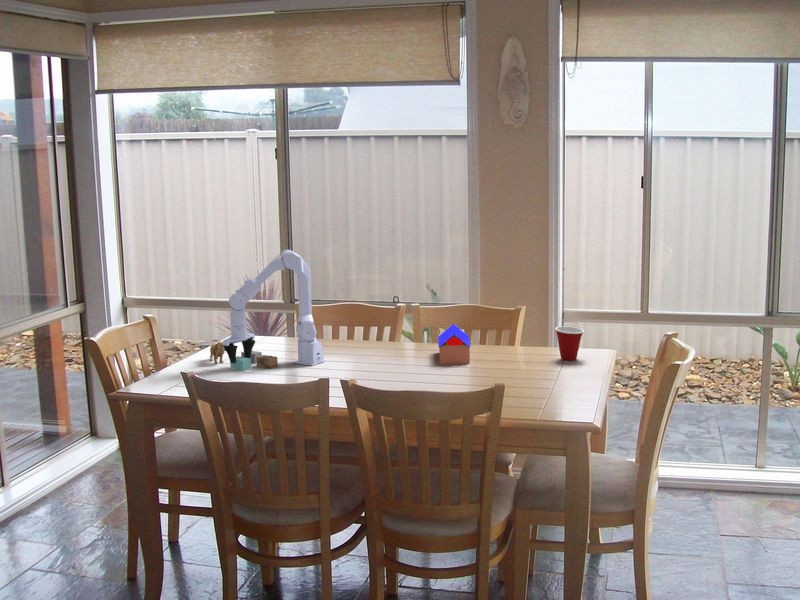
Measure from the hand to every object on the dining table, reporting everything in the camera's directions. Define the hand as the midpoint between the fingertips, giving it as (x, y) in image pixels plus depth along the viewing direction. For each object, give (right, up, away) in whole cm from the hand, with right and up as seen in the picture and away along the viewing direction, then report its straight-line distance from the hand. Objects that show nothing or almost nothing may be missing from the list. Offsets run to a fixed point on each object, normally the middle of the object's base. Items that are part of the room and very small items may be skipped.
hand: (240, 360), depth 338 cm
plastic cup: (+125, 0, +2) cm, 125 cm away
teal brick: (0, -3, +1) cm, 3 cm away
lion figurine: (-11, -2, +12) cm, 16 cm away
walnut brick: (+10, -3, +2) cm, 10 cm away
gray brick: (+3, -1, +11) cm, 11 cm away
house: (+81, 0, +9) cm, 82 cm away
